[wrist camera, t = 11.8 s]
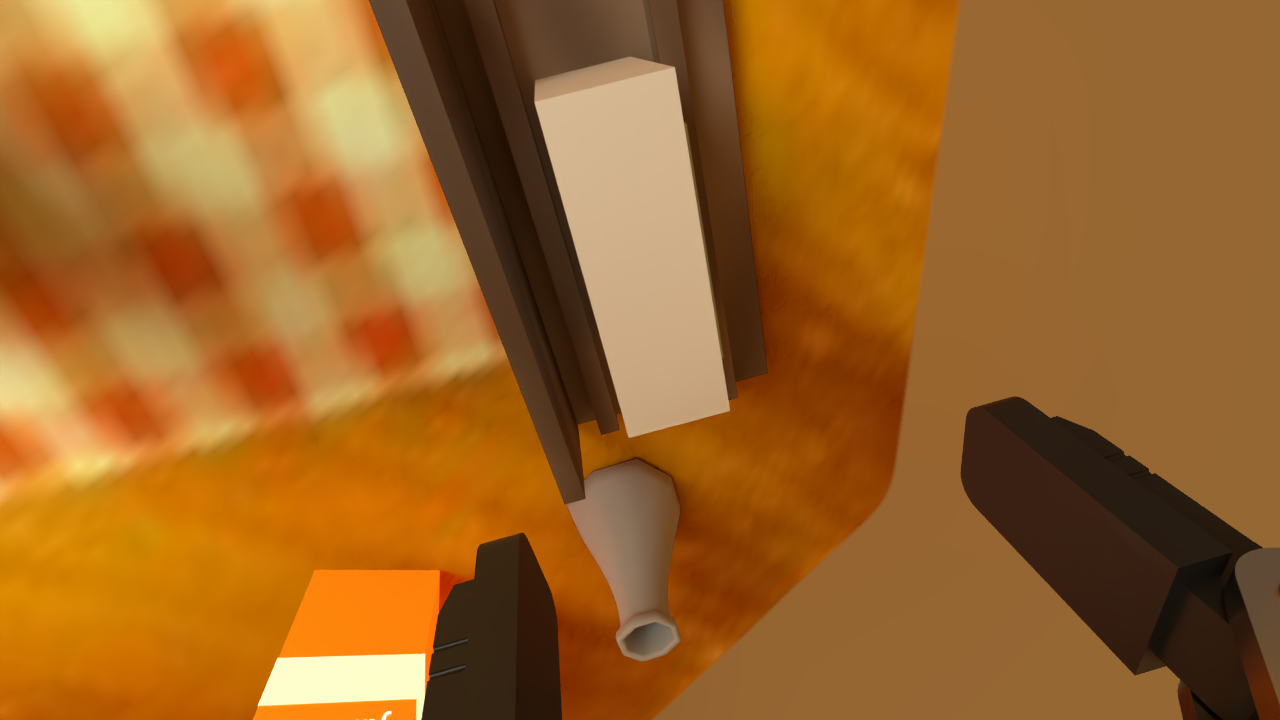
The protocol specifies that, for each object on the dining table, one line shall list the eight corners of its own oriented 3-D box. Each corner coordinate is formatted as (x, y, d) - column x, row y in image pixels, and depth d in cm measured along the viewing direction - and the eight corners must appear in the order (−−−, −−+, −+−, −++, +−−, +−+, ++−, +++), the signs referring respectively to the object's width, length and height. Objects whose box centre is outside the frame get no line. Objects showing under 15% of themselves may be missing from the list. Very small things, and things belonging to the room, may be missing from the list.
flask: (698, 506, 39) (743, 641, 30) (609, 558, 40) (629, 702, 31) (640, 438, 35) (673, 569, 27) (544, 498, 36) (547, 641, 28)
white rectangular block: (685, 311, 30) (737, 408, 22) (604, 332, 30) (628, 437, 22) (636, 54, 24) (685, 64, 16) (535, 80, 24) (534, 102, 16)
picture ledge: (559, 413, 34) (565, 504, 27) (399, -36, 22) (343, -65, 16) (758, 360, 34) (811, 437, 27) (698, -110, 23) (763, -168, 16)
